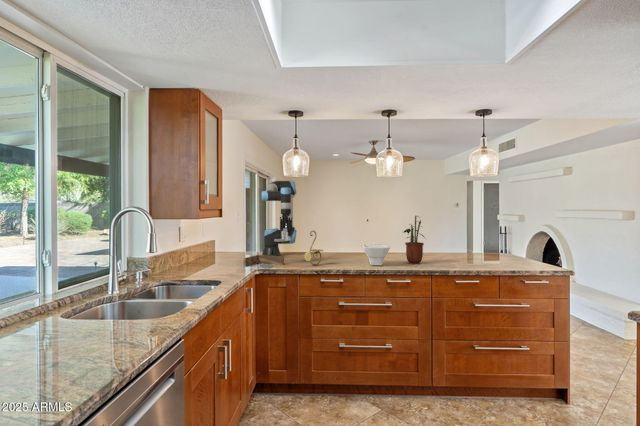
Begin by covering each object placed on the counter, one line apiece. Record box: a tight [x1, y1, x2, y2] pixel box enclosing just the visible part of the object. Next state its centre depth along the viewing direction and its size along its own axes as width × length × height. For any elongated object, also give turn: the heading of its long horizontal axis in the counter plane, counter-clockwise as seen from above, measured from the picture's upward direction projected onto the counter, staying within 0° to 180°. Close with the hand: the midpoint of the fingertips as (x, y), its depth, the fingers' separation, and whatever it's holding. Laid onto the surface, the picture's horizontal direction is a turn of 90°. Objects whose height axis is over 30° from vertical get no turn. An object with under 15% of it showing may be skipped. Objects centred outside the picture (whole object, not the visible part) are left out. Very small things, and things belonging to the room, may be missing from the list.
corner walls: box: [243, 254, 285, 267], centre depth 273 cm, size 18×22×6 cm
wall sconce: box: [304, 230, 325, 266], centre depth 274 cm, size 14×10×25 cm
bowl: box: [362, 244, 391, 266], centre depth 272 cm, size 19×19×14 cm
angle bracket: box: [274, 228, 287, 242], centre depth 279 cm, size 9×6×9 cm, turn 127°
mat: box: [259, 264, 275, 269], centre depth 269 cm, size 10×13×1 cm
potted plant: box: [402, 215, 426, 265], centre depth 278 cm, size 17×16×35 cm
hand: (286, 240), depth 281 cm, fingers closed on angle bracket, 6 cm apart
